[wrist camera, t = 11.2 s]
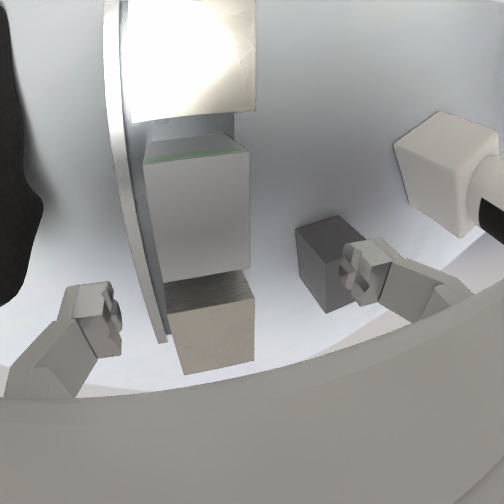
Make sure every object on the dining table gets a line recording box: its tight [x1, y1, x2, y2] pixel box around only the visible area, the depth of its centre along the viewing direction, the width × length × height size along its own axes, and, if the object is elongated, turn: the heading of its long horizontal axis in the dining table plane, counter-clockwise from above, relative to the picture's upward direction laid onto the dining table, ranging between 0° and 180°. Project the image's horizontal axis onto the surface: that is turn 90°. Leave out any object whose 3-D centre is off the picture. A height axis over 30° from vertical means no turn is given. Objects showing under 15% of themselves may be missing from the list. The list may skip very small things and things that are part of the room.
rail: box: [103, 0, 256, 375], centre depth 16 cm, size 7×24×6 cm, turn 0°
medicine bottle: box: [393, 112, 504, 244], centre depth 19 cm, size 7×7×12 cm
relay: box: [295, 216, 366, 314], centre depth 23 cm, size 4×5×5 cm
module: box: [143, 134, 250, 283], centre depth 15 cm, size 4×6×5 cm
